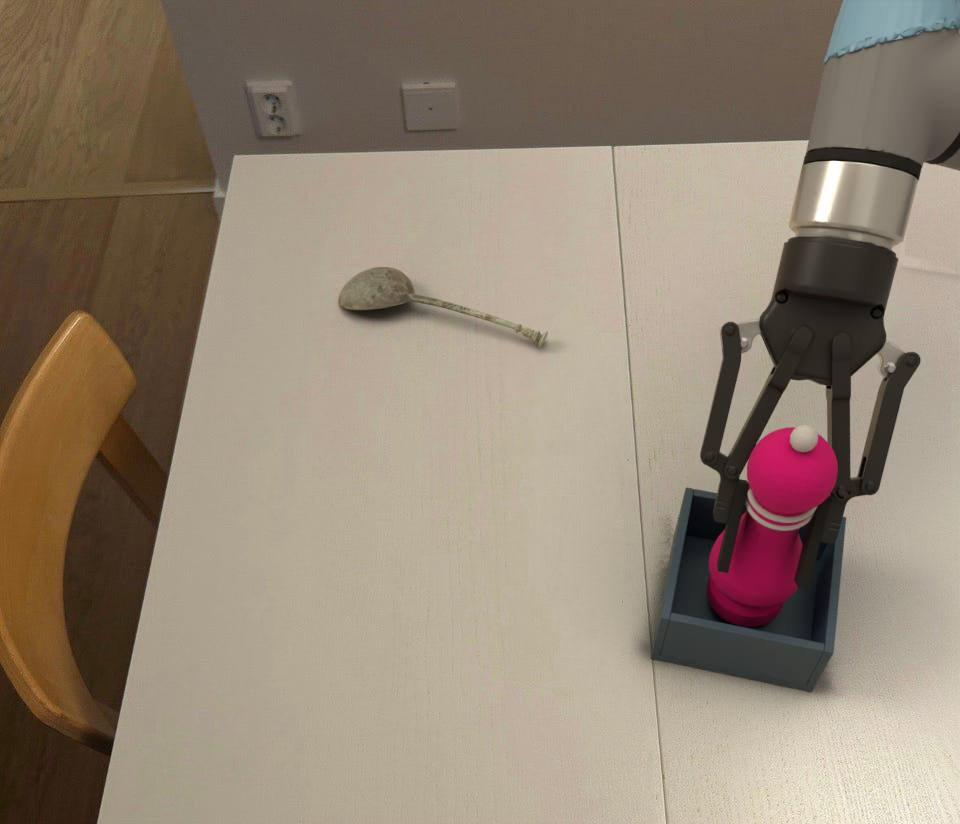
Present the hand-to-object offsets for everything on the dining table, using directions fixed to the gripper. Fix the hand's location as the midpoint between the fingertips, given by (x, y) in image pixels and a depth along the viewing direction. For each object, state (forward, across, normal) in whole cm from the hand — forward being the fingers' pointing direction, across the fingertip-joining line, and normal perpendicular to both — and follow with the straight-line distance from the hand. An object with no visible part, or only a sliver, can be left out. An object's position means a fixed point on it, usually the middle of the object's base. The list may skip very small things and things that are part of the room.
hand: (761, 576), depth 77 cm
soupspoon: (-14, +33, -29) cm, 46 cm away
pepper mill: (+3, 0, -9) cm, 9 cm away
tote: (+5, 0, -10) cm, 11 cm away
